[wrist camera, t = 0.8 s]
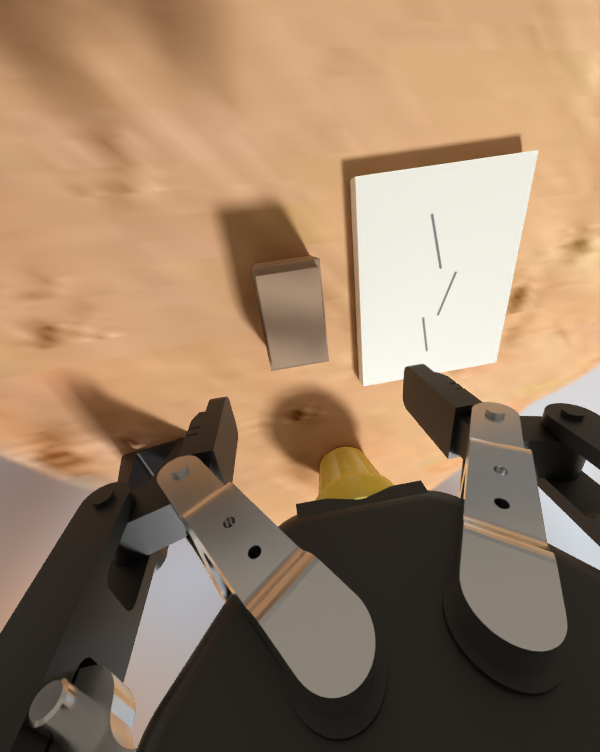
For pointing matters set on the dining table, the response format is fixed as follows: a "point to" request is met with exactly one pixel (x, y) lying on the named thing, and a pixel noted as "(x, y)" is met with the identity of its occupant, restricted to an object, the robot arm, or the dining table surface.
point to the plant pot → (349, 475)
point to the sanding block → (292, 311)
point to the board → (436, 262)
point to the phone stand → (148, 471)
